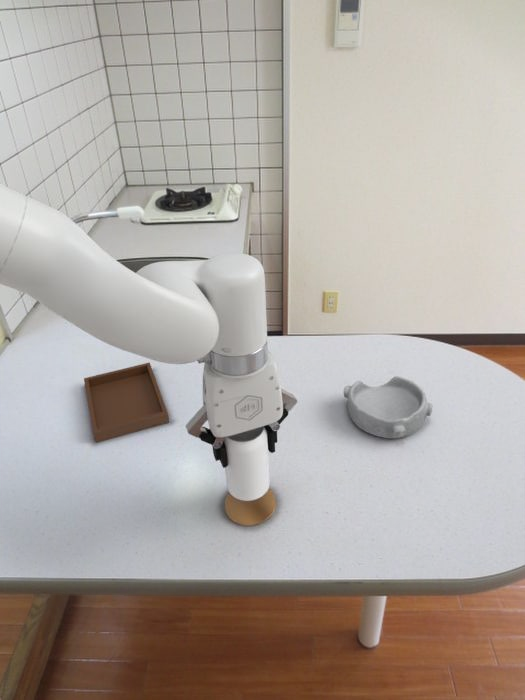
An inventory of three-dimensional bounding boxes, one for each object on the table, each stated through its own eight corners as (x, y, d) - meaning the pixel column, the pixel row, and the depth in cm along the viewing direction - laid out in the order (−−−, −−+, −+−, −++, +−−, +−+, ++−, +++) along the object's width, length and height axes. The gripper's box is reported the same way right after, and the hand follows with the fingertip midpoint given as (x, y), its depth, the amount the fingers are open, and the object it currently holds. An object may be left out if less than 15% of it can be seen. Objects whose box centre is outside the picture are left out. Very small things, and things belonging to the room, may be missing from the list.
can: (274, 473, 82) (272, 415, 75) (263, 506, 76) (259, 447, 70) (235, 466, 83) (229, 408, 76) (221, 498, 78) (214, 439, 71)
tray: (169, 422, 99) (167, 412, 97) (95, 442, 95) (93, 433, 94) (151, 371, 112) (149, 362, 111) (86, 387, 109) (83, 378, 107)
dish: (333, 407, 101) (334, 386, 98) (391, 384, 105) (394, 364, 103) (380, 455, 90) (383, 434, 87) (442, 427, 95) (447, 406, 92)
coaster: (257, 534, 78) (256, 532, 77) (214, 511, 82) (214, 509, 81) (285, 498, 83) (285, 496, 83) (244, 477, 87) (244, 475, 87)
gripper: (177, 386, 60) (194, 490, 71) (313, 351, 65) (311, 453, 75) (163, 352, 66) (181, 453, 76) (289, 322, 71) (290, 421, 81)
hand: (246, 452), depth 76 cm, fingers closed on can, 6 cm apart
